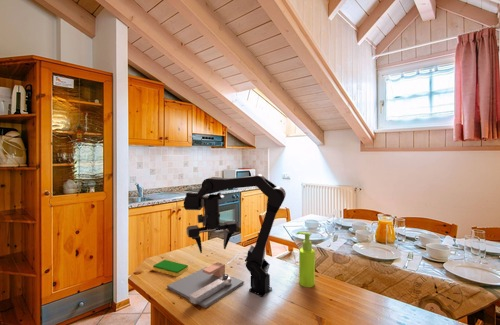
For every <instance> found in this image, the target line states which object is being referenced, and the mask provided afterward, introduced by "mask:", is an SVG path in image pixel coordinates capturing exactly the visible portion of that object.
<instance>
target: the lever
mask: <svg viewBox="0 0 500 325" xmlns="http://www.w3.org/2000/svg"><path fill="white" fill-rule="evenodd" d="M232 277H233V276H232V275H230V274H228V273H225V274H224V275H222V276H220V277H219V279H218V280H216V281H214V282H212V283H210V284H209V285H207V286H205V287H203V288H201V289H200V290H198V291H196V292H194V293H192V294H191V295H190V300H189V302H190V303H191V304H194V305H198V303H199V302H201V301H203V300H204V299H206V298H207V297H209V296H211V295H212V294H214V293H216V292H217V291H219V290H221V289H222V288H224V287H228V286H231V285H232Z"/></svg>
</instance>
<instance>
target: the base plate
mask: <svg viewBox="0 0 500 325" xmlns="http://www.w3.org/2000/svg"><path fill="white" fill-rule="evenodd" d="M207 267H208V266H205V267H203V268H201V269H198V270H197V271H195V272H192V273H191V274H189V275H187V276H184V277H182V278H180V279H178V280H176V281H174V282H171V283H169V284H167V286H166V287H167V289H168V290H170V291H172V292H174V293H175V294H178V295H180V296H182V297H183V298H185V299H187V300H189V301H190V295H191V294H192V293H194V292H196V291H198V290H200V289H201V288H203V287H205V286H207V285H209V284H210V283H212V282H214V281H216V280H218V279H219V277H217V276H215V275H213V273H212V274H210V275H209V274H206V273H204V272H203V269H205V268H207ZM242 285H244V280H243V279H239V278H237V277H234V276H232V285H231V286H228V287H224V288H222V289H221V290H219V291H217V292H216V293H214V294H212V295H211V296H209V297H207V298H206V299H204V300H203V301H201V302H199V303H198V304H197V305H199V306H200V307H202V308H204V309H207V308H208V307H211V306H212V305H213V304H214V303H216V302H219V300H221V299H222V298H223V297H225V296H227V295H229V294H230V293H231V292H233V291H235V290H237V289H238V288H239V287H241V286H242Z"/></svg>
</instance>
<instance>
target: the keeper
mask: <svg viewBox="0 0 500 325" xmlns="http://www.w3.org/2000/svg"><path fill="white" fill-rule="evenodd" d="M206 267H207V268H205V267H204V268H205V269H203V268H202V269H203V272H204V273H206V274H209V275H210V274H212V273H213V275H215V276H217V277H220V276H222V275H224V274H226V264H224V263H221V262H219V261H217V262H215V263H213V264H211V265H209V266H206Z"/></svg>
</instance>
